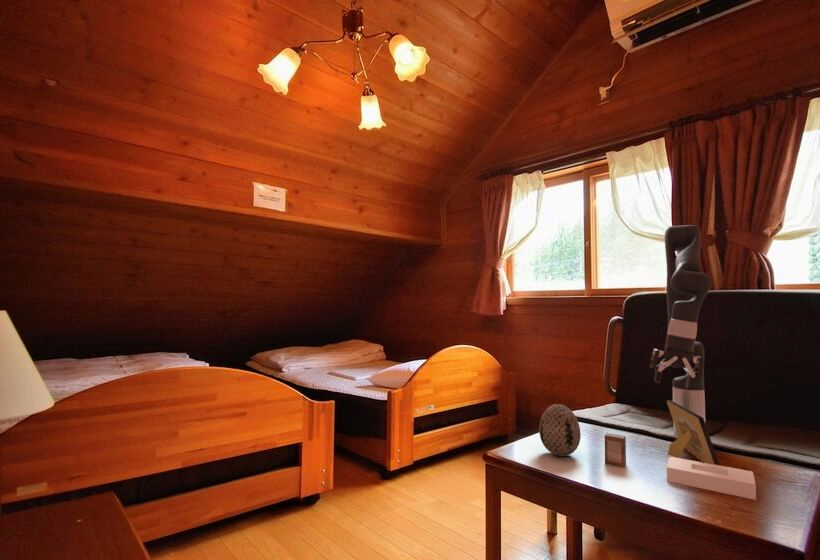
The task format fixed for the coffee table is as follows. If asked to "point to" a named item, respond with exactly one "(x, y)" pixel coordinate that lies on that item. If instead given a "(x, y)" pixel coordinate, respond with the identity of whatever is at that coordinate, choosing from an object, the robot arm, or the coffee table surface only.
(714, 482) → the notch stand
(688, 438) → the picture frame
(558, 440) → the decorative egg
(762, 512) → the coffee table surface
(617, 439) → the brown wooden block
